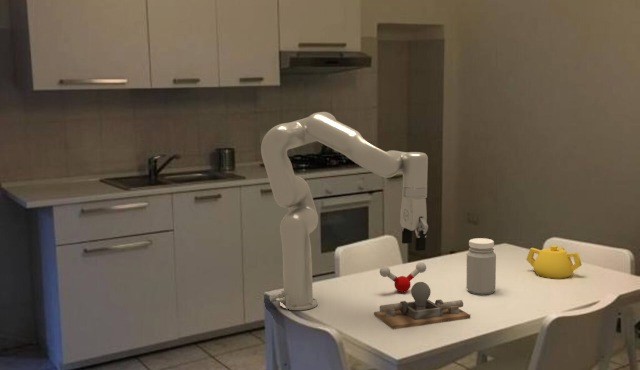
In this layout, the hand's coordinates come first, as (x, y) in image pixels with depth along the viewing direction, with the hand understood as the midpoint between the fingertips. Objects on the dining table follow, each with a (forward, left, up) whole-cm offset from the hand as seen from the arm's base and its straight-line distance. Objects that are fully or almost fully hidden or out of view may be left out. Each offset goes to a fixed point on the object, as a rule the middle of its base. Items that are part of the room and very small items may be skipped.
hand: (413, 246), depth 222 cm
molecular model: (+7, +22, -22) cm, 32 cm away
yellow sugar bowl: (+70, +22, -22) cm, 76 cm away
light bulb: (+1, -4, -21) cm, 21 cm away
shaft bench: (+1, -4, -22) cm, 22 cm away
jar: (+32, +12, -22) cm, 40 cm away
